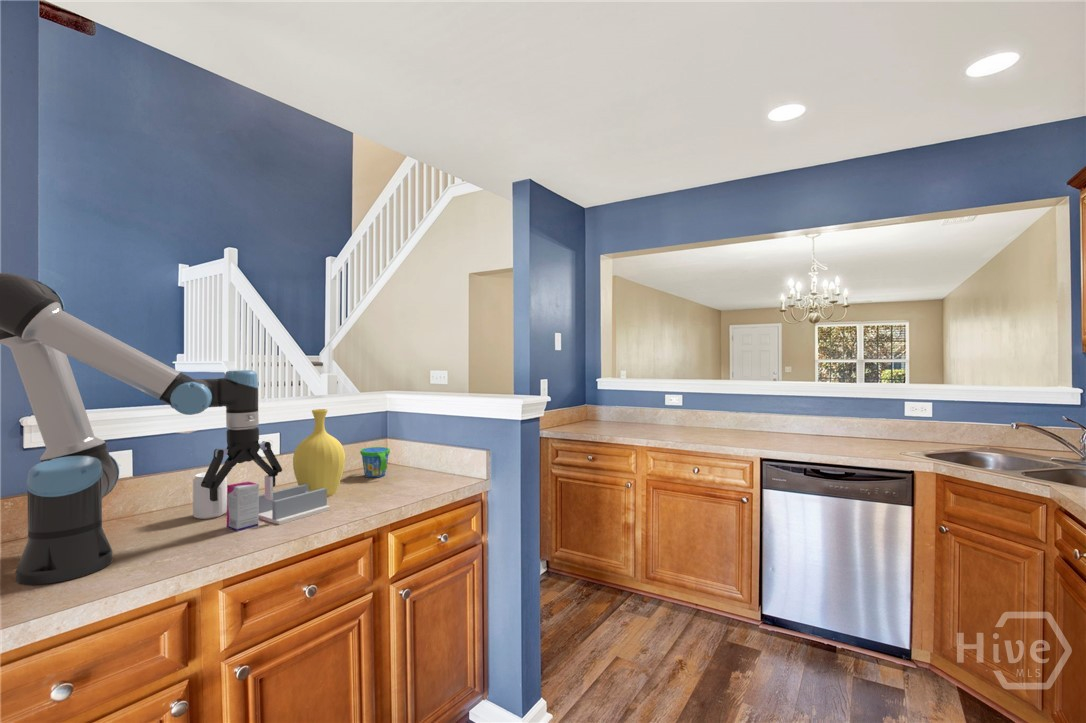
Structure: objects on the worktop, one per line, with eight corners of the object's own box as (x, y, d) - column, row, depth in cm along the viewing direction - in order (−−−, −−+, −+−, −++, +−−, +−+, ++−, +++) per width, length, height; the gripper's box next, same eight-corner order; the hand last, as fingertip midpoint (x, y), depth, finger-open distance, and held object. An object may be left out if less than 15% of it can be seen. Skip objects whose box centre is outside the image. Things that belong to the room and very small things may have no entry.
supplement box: (259, 525, 138) (259, 483, 138) (236, 531, 133) (236, 488, 133) (248, 521, 141) (248, 480, 141) (225, 527, 136) (225, 485, 136)
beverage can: (210, 521, 141) (210, 478, 141) (185, 518, 143) (185, 476, 143) (233, 512, 149) (233, 471, 149) (210, 510, 151) (210, 470, 151)
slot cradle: (279, 524, 139) (279, 502, 139) (250, 515, 146) (250, 495, 146) (330, 509, 153) (330, 489, 153) (301, 502, 160) (301, 483, 160)
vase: (350, 495, 167) (350, 411, 167) (296, 503, 158) (297, 413, 158) (339, 485, 181) (339, 406, 180) (289, 491, 172) (289, 408, 171)
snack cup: (395, 478, 191) (395, 451, 191) (367, 482, 185) (367, 454, 185) (382, 470, 204) (382, 444, 204) (355, 473, 198) (355, 447, 198)
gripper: (199, 435, 124) (201, 521, 125) (294, 422, 146) (295, 496, 146) (184, 433, 128) (186, 516, 129) (279, 420, 150) (280, 492, 150)
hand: (244, 505), depth 137 cm, fingers open, 13 cm apart
